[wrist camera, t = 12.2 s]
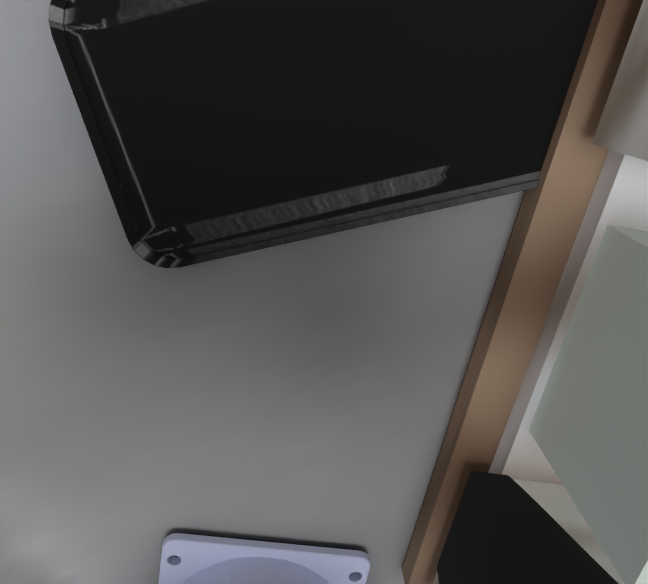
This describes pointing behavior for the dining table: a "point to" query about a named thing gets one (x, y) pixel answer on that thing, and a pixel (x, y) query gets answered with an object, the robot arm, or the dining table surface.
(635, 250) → the block
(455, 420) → the board
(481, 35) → the phone
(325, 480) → the dining table surface
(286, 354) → the dining table surface
